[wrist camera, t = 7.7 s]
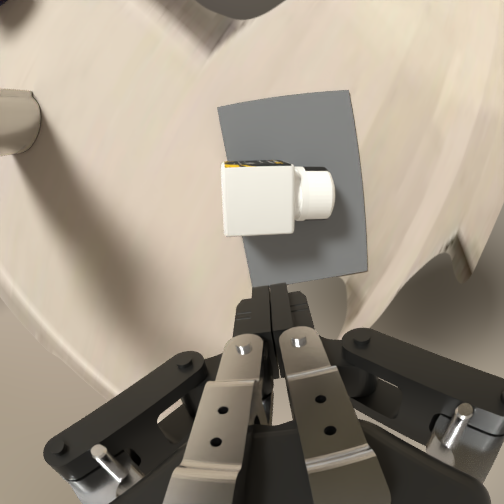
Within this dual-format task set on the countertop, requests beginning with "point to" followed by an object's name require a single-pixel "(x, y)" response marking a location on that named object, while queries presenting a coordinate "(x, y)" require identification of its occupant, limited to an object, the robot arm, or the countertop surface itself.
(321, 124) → the rubber mat
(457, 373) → the robot arm
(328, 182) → the medicine bottle
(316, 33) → the countertop surface
